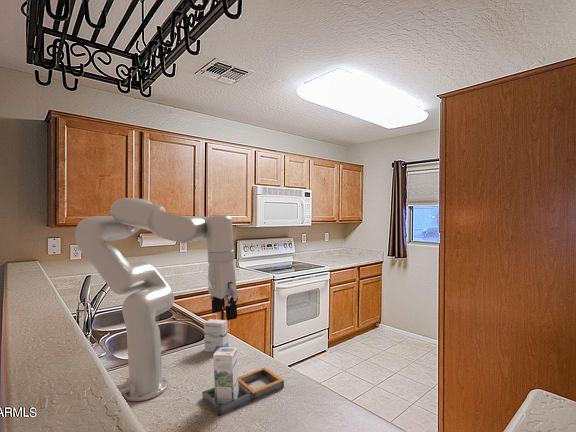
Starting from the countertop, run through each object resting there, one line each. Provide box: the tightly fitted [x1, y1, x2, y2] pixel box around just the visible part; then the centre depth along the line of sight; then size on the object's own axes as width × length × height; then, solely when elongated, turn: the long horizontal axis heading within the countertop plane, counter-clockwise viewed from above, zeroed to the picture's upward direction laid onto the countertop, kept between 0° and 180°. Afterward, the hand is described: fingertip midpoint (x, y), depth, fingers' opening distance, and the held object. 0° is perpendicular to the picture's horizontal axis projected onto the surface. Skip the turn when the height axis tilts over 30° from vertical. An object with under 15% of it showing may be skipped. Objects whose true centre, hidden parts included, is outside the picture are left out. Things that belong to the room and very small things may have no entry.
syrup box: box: [212, 346, 240, 405], centre depth 93 cm, size 6×6×14 cm
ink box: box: [203, 318, 229, 353], centre depth 129 cm, size 8×5×12 cm, turn 71°
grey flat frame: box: [201, 367, 285, 417], centre depth 96 cm, size 22×11×2 cm, turn 126°
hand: (224, 315), depth 93 cm, fingers open, 9 cm apart
